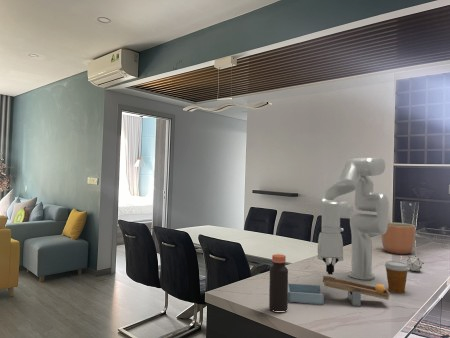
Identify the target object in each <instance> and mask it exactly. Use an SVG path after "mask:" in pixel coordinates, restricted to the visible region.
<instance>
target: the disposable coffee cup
mask: <svg viewBox="0 0 450 338" xmlns="http://www.w3.org/2000/svg"><path fill="white" fill-rule="evenodd" d="M384 267H385V272H386V280H387V288H388V291H390V292H391V293H395V294H403V293H405V289H406V282H407V277H408V270H410V268H409V267H408V265H407V262H401V261H396V260H394V261H393V260H392V261H391V260H390V261H389V260H388V261H385V264H384Z"/></svg>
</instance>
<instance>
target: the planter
mask: <svg viewBox="0 0 450 338" xmlns="http://www.w3.org/2000/svg"><path fill="white" fill-rule="evenodd" d="M415 240H416V225H414V224H413V223H412V224H410V223H404V222H391V221H390V222H389V221H388V226H387V231H386V233H385V234H383V235H381V243H382V247H383V249H384V250H386V252H388V253H390V254H393V255H394V254H395V255H408V254H410V253H411V252H412V251H413V250H414V247H415V242H416V241H415Z"/></svg>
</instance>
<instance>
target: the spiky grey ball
mask: <svg viewBox="0 0 450 338" xmlns="http://www.w3.org/2000/svg"><path fill="white" fill-rule="evenodd" d="M406 264H407V265H408V267H409V271H412V273H414V272H421V269H423V267H422V266H423V265H424V264H425V262H422V261H421V259H420V258H419V257H417V256H416V255H415V256H414V257H413V256H412V257H410V256H408V259H407V260H406Z"/></svg>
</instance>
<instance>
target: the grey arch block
mask: <svg viewBox="0 0 450 338" xmlns="http://www.w3.org/2000/svg"><path fill="white" fill-rule="evenodd" d="M347 299H348V300H349V303H350V305H352V306H351V307H361V306H362V305H361V304H362V303H361V300H362V294H361V291H352V292H350V291H347Z"/></svg>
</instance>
